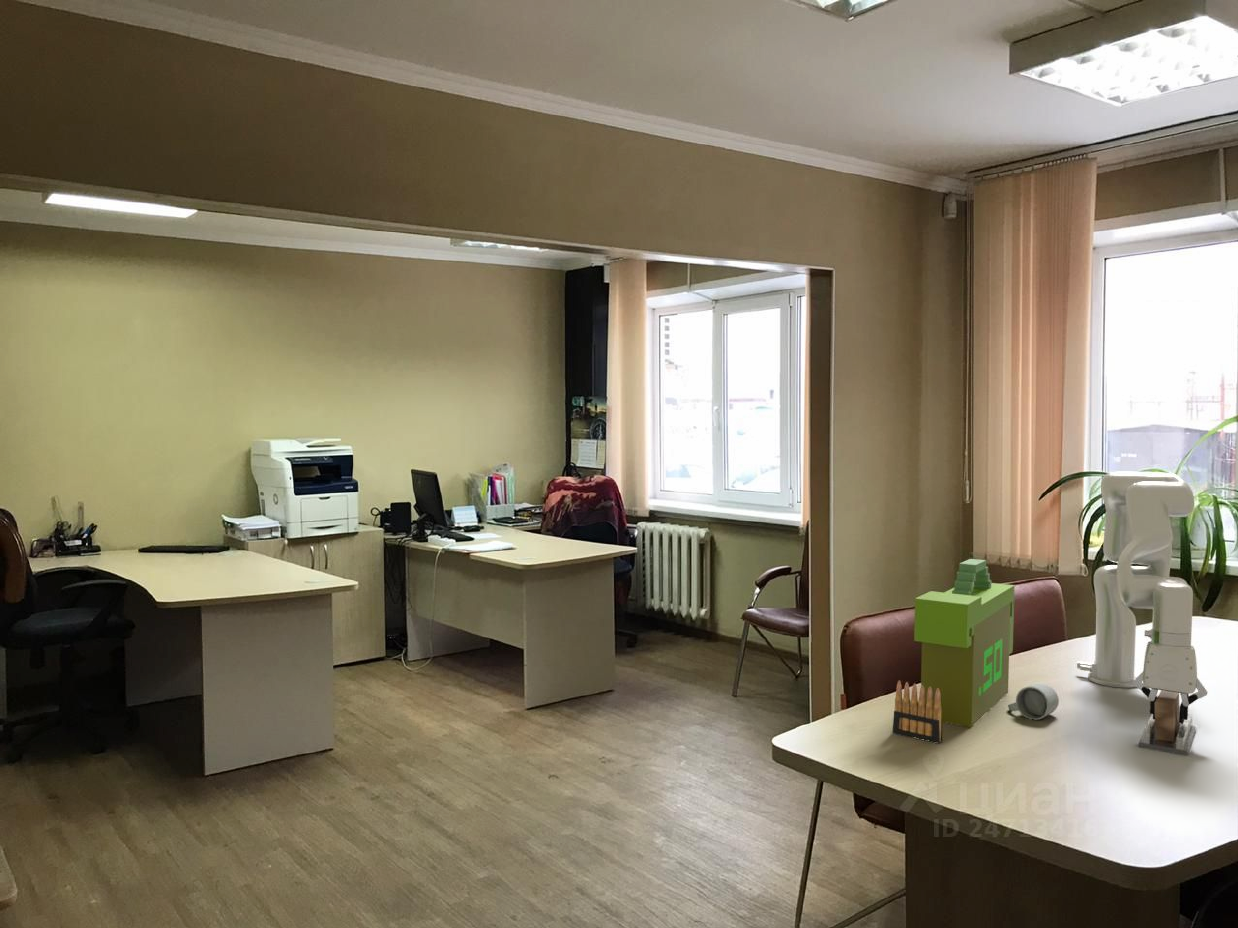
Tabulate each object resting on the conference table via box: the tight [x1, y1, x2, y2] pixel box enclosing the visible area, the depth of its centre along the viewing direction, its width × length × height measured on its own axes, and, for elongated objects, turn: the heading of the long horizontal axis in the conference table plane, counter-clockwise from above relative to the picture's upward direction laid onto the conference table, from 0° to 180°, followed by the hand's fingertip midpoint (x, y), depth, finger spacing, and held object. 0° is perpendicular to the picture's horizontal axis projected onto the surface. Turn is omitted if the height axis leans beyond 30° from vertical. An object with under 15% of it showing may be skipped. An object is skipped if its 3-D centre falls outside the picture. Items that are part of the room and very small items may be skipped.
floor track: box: [1138, 713, 1197, 756], centre depth 209 cm, size 9×20×4 cm, turn 144°
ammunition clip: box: [892, 679, 943, 744], centre depth 209 cm, size 11×2×12 cm, turn 50°
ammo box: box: [913, 558, 1015, 728], centre depth 232 cm, size 45×12×35 cm, turn 145°
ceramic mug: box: [1007, 683, 1060, 721], centre depth 226 cm, size 11×8×8 cm
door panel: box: [1155, 690, 1180, 742], centre depth 209 cm, size 4×12×8 cm, turn 144°
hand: (1168, 719), depth 209 cm, fingers open, 4 cm apart
